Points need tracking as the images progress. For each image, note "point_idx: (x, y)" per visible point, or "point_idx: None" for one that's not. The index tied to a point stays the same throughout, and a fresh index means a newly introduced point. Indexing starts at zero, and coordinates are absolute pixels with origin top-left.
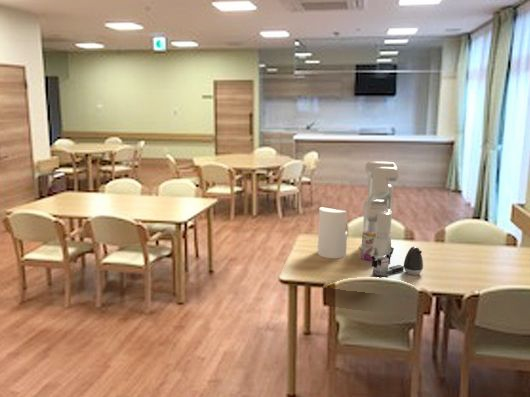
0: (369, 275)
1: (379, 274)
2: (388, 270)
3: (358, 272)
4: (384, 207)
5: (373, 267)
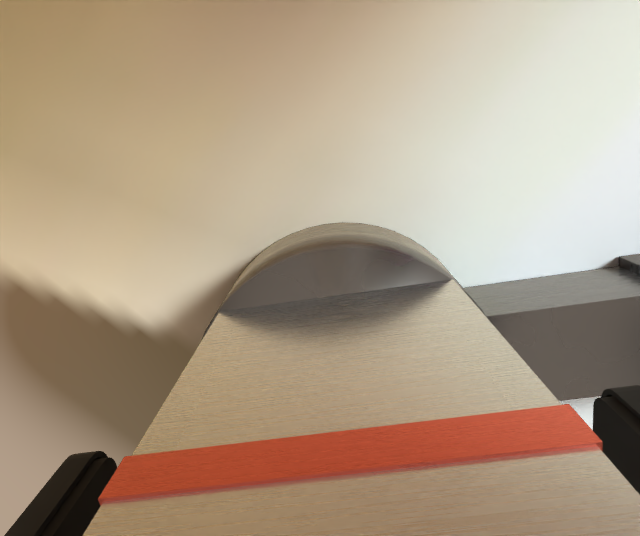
0: (172, 275)
1: None
2: None
3: (43, 60)
4: None
5: (207, 343)
